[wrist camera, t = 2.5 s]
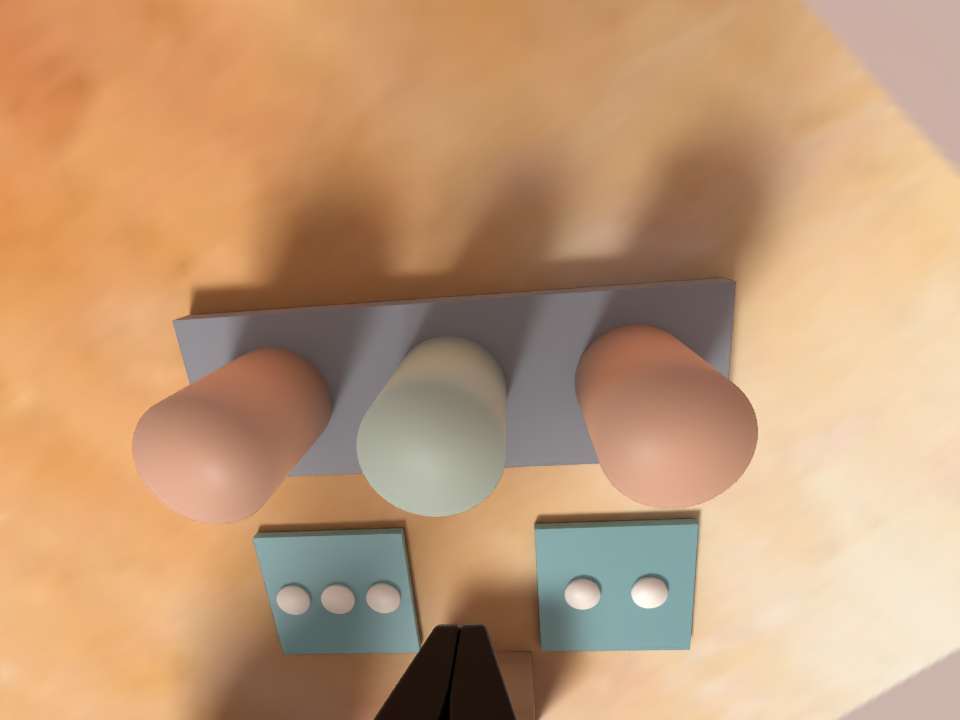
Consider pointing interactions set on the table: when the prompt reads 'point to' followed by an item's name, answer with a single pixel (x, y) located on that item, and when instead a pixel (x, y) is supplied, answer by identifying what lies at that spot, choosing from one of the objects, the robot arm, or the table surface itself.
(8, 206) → the table surface
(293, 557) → the pad three
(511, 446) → the board
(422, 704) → the robot arm
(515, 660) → the brown cube
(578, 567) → the pad two
